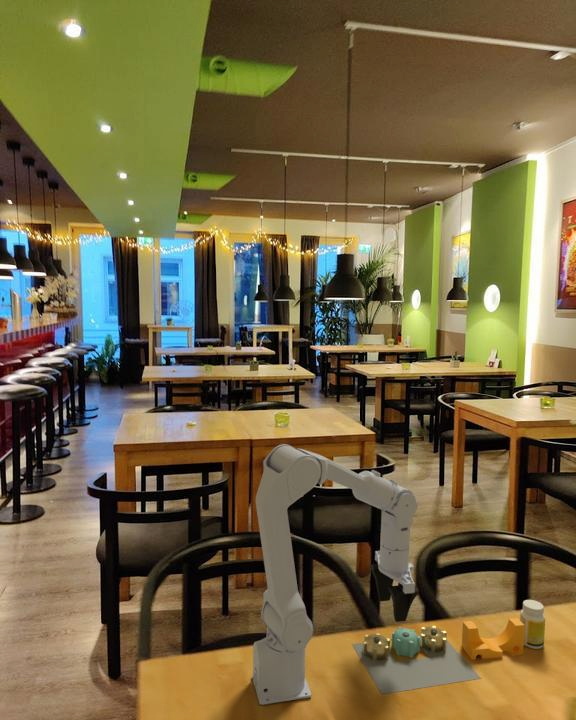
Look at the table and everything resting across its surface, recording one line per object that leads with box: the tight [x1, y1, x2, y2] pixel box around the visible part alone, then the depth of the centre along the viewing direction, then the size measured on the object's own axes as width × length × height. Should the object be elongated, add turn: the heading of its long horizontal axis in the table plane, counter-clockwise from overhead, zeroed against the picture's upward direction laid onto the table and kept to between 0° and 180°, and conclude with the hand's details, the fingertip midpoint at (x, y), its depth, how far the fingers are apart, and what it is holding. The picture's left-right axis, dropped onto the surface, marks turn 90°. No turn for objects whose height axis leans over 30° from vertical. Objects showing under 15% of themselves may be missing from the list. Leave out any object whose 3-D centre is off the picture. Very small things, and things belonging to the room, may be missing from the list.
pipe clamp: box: [461, 617, 525, 660], centre depth 108 cm, size 12×4×6 cm, turn 98°
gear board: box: [351, 625, 482, 695], centre depth 105 cm, size 20×15×4 cm
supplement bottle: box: [519, 599, 546, 650], centre depth 113 cm, size 5×5×8 cm
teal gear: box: [391, 626, 420, 659], centre depth 108 cm, size 5×5×4 cm
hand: (392, 610), depth 108 cm, fingers open, 7 cm apart
